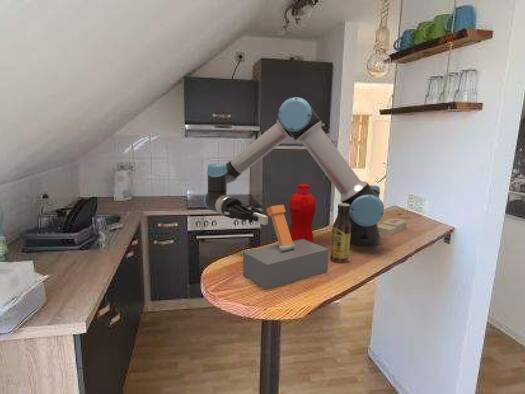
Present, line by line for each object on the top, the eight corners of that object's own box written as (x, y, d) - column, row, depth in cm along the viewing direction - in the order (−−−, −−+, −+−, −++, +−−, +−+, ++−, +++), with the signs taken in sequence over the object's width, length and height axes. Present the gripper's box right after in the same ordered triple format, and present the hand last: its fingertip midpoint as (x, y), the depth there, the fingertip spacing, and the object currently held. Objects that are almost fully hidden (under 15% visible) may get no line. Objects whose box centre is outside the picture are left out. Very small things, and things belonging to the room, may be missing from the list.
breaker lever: (291, 249, 109) (278, 207, 112) (296, 247, 107) (283, 204, 110) (279, 252, 106) (266, 208, 109) (283, 250, 104) (270, 206, 107)
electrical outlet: (374, 224, 154) (392, 217, 167) (373, 233, 155) (391, 226, 168) (390, 227, 149) (407, 220, 162) (389, 237, 150) (406, 229, 163)
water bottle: (309, 246, 134) (312, 182, 129) (315, 256, 123) (319, 186, 118) (285, 246, 134) (288, 181, 129) (289, 256, 123) (291, 186, 118)
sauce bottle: (326, 257, 122) (329, 202, 119) (341, 255, 125) (345, 201, 121) (336, 264, 116) (340, 206, 113) (352, 262, 119) (356, 205, 115)
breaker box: (301, 260, 120) (302, 239, 118) (327, 271, 110) (328, 249, 109) (242, 275, 106) (243, 251, 104) (266, 290, 96) (267, 264, 95)
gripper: (243, 214, 137) (281, 229, 118) (214, 218, 129) (249, 234, 111) (243, 195, 136) (282, 207, 117) (214, 198, 128) (249, 211, 109)
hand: (265, 220), depth 114 cm, fingers closed
